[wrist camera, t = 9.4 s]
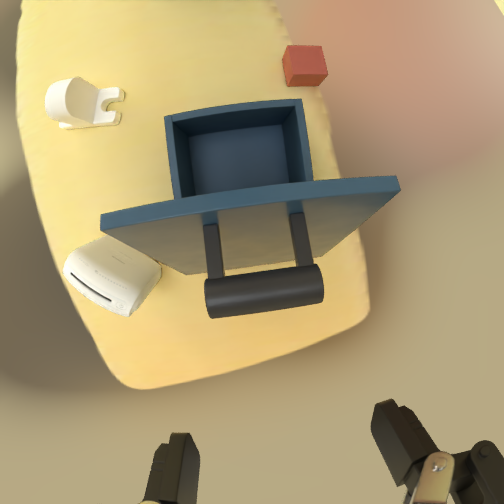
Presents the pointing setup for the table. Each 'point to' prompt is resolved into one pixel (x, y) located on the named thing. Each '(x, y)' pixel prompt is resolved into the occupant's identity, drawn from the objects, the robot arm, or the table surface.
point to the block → (304, 65)
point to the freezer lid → (253, 237)
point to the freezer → (238, 147)
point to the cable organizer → (81, 104)
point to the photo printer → (112, 274)
